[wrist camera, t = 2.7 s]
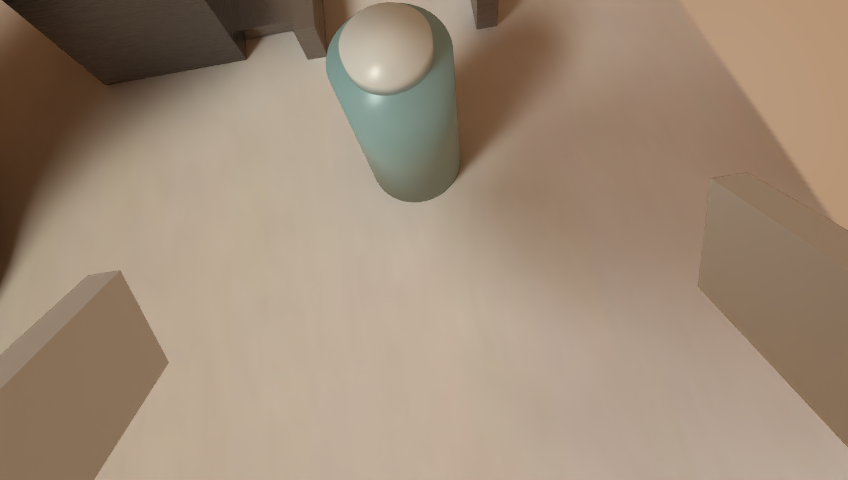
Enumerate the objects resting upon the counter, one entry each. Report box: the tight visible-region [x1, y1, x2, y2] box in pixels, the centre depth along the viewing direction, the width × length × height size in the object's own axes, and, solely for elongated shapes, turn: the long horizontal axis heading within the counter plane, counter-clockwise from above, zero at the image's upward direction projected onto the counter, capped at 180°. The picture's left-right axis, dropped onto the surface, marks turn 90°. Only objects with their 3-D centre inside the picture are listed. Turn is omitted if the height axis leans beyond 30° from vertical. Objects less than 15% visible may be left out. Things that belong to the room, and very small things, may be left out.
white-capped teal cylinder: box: [326, 2, 460, 202], centre depth 22 cm, size 5×5×10 cm
